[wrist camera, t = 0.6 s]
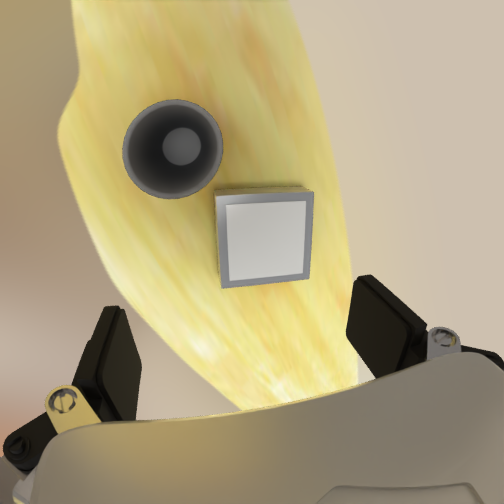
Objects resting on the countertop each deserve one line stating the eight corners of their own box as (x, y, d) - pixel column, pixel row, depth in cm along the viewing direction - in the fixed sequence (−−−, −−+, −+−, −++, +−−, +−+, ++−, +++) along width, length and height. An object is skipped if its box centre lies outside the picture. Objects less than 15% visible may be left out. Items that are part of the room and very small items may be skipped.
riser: (213, 190, 34) (216, 196, 30) (301, 186, 36) (314, 192, 32) (218, 273, 38) (221, 289, 34) (298, 266, 40) (309, 279, 36)
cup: (222, 141, 32) (244, 140, 18) (186, 186, 33) (180, 218, 20) (178, 106, 30) (165, 80, 16) (141, 153, 31) (103, 162, 17)
